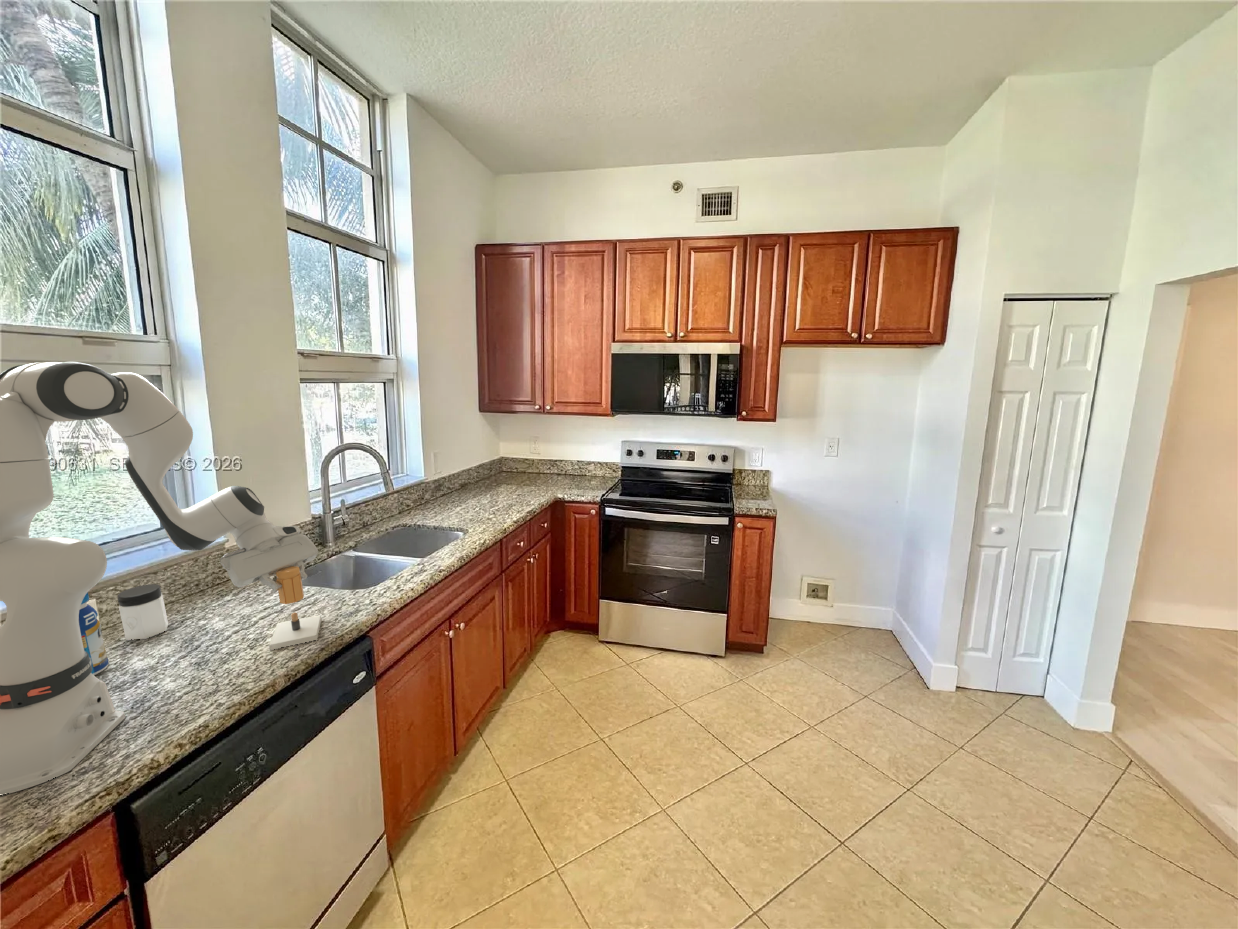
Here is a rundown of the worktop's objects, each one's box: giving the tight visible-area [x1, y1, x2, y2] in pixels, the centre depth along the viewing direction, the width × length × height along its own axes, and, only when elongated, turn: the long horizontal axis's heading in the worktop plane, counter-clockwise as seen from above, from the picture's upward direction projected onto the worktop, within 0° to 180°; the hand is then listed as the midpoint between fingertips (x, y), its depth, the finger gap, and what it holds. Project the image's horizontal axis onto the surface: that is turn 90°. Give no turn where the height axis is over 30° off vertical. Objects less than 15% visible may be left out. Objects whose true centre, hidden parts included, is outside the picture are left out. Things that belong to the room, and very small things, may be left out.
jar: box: [116, 583, 169, 641], centre depth 129 cm, size 9×8×12 cm
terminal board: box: [268, 612, 322, 651], centre depth 128 cm, size 12×10×6 cm
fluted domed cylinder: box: [275, 566, 305, 605], centre depth 126 cm, size 5×5×8 cm
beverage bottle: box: [79, 591, 110, 676], centre depth 111 cm, size 8×8×20 cm
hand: (291, 584), depth 126 cm, fingers closed on fluted domed cylinder, 5 cm apart
